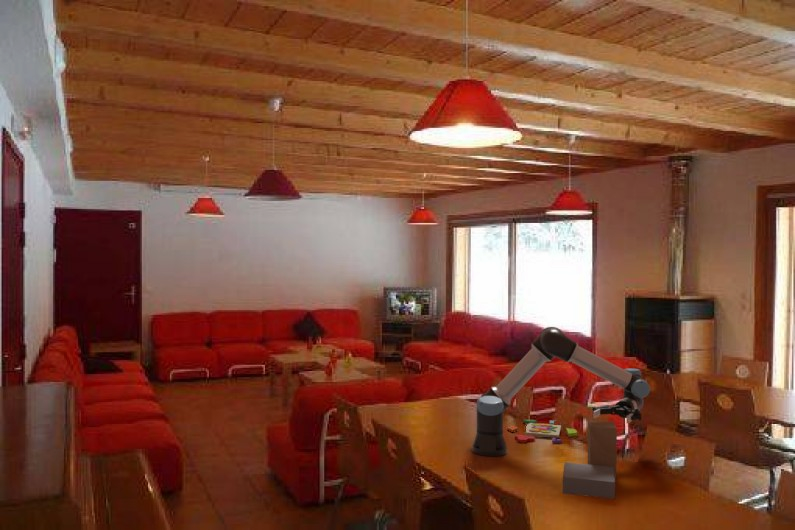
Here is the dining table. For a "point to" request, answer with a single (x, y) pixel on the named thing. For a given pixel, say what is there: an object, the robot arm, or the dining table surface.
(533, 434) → the pattern blocks set
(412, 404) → the dining table surface
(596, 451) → the wooden block
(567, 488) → the plinth
